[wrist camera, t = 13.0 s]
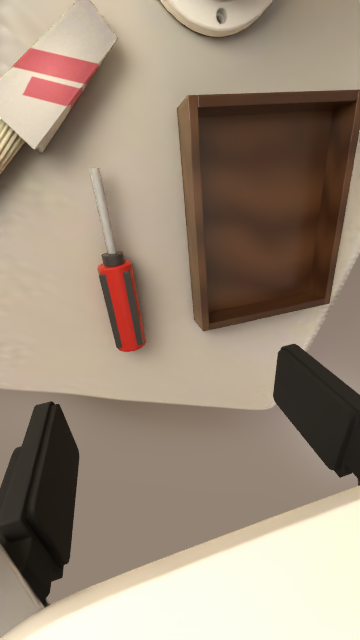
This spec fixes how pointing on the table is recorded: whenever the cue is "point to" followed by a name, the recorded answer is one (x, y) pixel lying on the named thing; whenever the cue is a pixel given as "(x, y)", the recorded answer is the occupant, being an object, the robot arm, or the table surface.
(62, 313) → the table surface
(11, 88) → the paintbrush
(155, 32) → the table surface
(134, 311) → the screwdriver
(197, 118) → the wooden tray
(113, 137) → the table surface
